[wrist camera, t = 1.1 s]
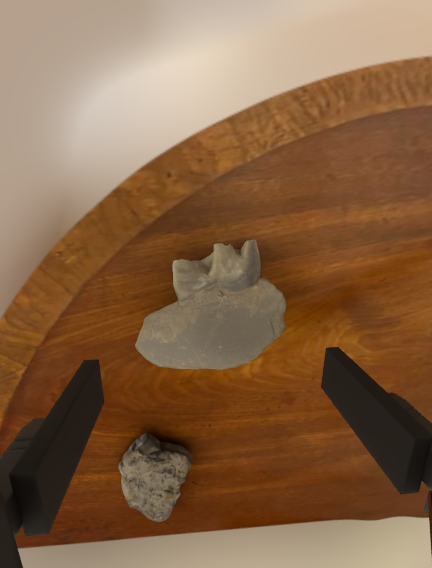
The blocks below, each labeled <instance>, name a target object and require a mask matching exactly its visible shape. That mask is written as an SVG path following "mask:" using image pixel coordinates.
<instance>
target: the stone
mask: <svg viewBox="0 0 432 568" xmlns="http://www.w3.org/2000/svg"><path fill="white" fill-rule="evenodd" d="M192 462H193V458H192V456H191V454H190V453H189V452H188V451H187V450H186V449H185V448H184V447H183V446H180V445H174V444H171V443H168V442H160V441H159V440H158V439H157V438H155V437H154V436H153V435H151V434H150V433H148V432H146V433H144V434H143V435H141V436H140V437H138V438H137V439H136V440H135V441H134V442H133V443H132V444H131V445H130V447H129V450H128V451H126V452H125V454H124V455H123V458H122V460H121V462H120V463H119V466H118V468H119V470H120V472H121V475H122V481H121V482H122V489H123V493H124V495H125V498H126V500H127V501H128V505H129V506H130V507H131V508H134V509H136V510H139V511H140V512H141V513H142V514H143V515H144V516H145V517H146V518H148V519H151V520H153V521H154V522H163V521H165V520H167V518H168V517H169V515H170V513H171V511H172V510H173V508H174V505H175V504H176V500H177V499H178V498H179V496H180V494H181V493H180V491H179V488H180V485H181V483H184V482H185V478H186V474H187V471H188V469H189V467H190V465H191V464H192Z"/></svg>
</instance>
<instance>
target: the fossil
mask: <svg viewBox="0 0 432 568" xmlns="http://www.w3.org/2000/svg"><path fill="white" fill-rule="evenodd" d="M172 269H173V285H174V289H175V292H176V295H177V298H178V301H177V302H175V303H173V304H170V305H168V306H166V307H164V308H162V309H161V310H158V311H155V312H152V313H150V314H149V315H148V316H147V317H146V318H145V319H144V322H143V327H142V329H141V331H140V333H139V337H138V340H137V343H136V345H135V347H136V349H137V350H138V351H139V352H140V353H141V354H142V355H143V356H144V357H145V358H146V359H147V360H148V361H150V362H151V363H153V364H155V365H157V366H159V367H169V368H177V369H201V368H206V369H218V370H222V369H226V368H233V367H237V366H238V365H242V364H245V363H248V362H250V361H252V360H253V359H255V358H256V357H257V356H258V355H260V354H261V353H262V351H263V350H264V348H266V347H267V346H268V345H270V344H271V343H272V342H273V341H274V340H275V339H276V338H277V337H279V336H280V335H281V333H282V331H283V330H284V328H285V325H286V324H285V323H284V320H283V315H284V312H285V310H286V307H287V306H286V301H285V298H284V295H283V293H282V292H280V291H279V290H278V289H277V288H276V287H275V286H274V285H273V284H270V282H269V281H268V279H265V278H264V277H261V278H260V270H261V262H260V255H259V250H258V246H257V243H256V239H254V240H250V241H249V240H248V241H246V242H245V243H244V245H243V247H242V248H241V249H239V250H235V249H234V248H233V247H232V245H230V244H229V245H227V246H225V245H224V244H223V243H219V244H214V251H213V252H212V254H211V255H210V256H208V257H206V258H204V259H203V260H201V261H200V260H194V261H189V260H183V259H181V260H175V261H174V262H173V267H172Z"/></svg>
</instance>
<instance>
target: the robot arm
mask: <svg viewBox="0 0 432 568" xmlns="http://www.w3.org/2000/svg"><path fill="white" fill-rule="evenodd" d="M321 388H322V389H323V390H324V392H325V393H326V394H327V396H328V397H329V399H330V400H331V401H332V403H333V404H334V405H335V407H336V408H337V409H338V411H339V412H340V413H341V415H342V416H343V417H344V419H345V420H346V421H347V423H348V424H349V425H350V427H351V428H352V430H353V431H354V432H355V434H356V435H357V436H358V438H359V439H360V440H361V442H362V443H363V444H364V446H365V447H366V448H367V450H368V451H369V452H370V454H371V455H372V456H373V458H374V459H375V460H376V462H377V463H378V465H379V466H380V467H381V469H382V470H383V471H384V473H385V474H386V475H387V477H388V478H389V479H390V481H391V482H392V483H393V485H394V486H395V487H396V489H397V490H398V491H399V493H400V494H408V493H417V492H419V489H420V485H421V481H423V482H424V483H425V484H426V486H427V487H428V488H429V489H430V491H429V494H428V498H427V501H426V505H425V508H424V511H425V512H428V509H429V521H430V537H431V551H432V423H431V422H430V421H428V420H427V419H426V418H425V417H424V416H422V415H421V413H419V412H418V411H417V410H416V409H414V407H413V406H411V405H410V404H409V403H408V402H407V401H406V400H405V399H403V398H401V397H400V396H398V395H396V394H394V393H387V392H386V391H385V390H384V389H383V388H382V387H381V386H379V385H378V384H377V383H376V382H375V381H374V380H373V379H372V378H371V377H370V376H369V375H368V374H367V373H366V372H364V371H363V370H362V369H361V368H360V367H359V366H358V365H357V364H356V363H355V362H354V361H353V360H352V359H350V358H349V357H348V356H347V355H346V354H345V353H344V352H343V351H342V350H341V349H340V348H339V347H330V348H326V352H325V360H324V368H323V376H322V384H321ZM103 403H104V397H103V389H102V381H101V374H100V366H99V360H84V361H83V363H82V364H81V366H80V367H79V369H78V370H77V372H76V373H75V375H74V376H73V378H72V379H71V381H70V382H69V384H68V385H67V387H66V388H65V390H64V392H63V393H62V395H61V396H60V398H59V399H58V401H57V402H56V404H55V405H54V407H53V408H52V410H51V411H50V413H49V414H48V416H47V417H46V418H41V419H33V420H32V421H31V422H29V423H28V424H27V425H26V426H25V427H23V428H22V429H21V431H20V432H19V433H18V435H17V436H16V437H15V439H14V441H13V442H12V443H11V444H10V445H9V447H8V448H7V451H5V452H4V454H3V455H2V456H1V458H0V568H23V566H22V563H21V560H20V556H19V552H18V549H17V545H16V542H15V537H16V535H17V533H18V531H19V529H20V527H21V525H22V526H23V530H24V534H25V536H32V535H41V534H49V532H50V530H51V527H52V525H53V522H54V520H55V518H56V515H57V513H58V511H59V508H60V506H61V503H62V501H63V499H64V496H65V494H66V492H67V489H68V487H69V484H70V482H71V480H72V477H73V475H74V472H75V470H76V468H77V465H78V463H79V461H80V458H81V456H82V453H83V451H84V449H85V446H86V444H87V441H88V439H89V437H90V434H91V432H92V430H93V427H94V425H95V422H96V420H97V418H98V415H99V413H100V411H101V408H102V406H103ZM431 553H432V552H431Z"/></svg>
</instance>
